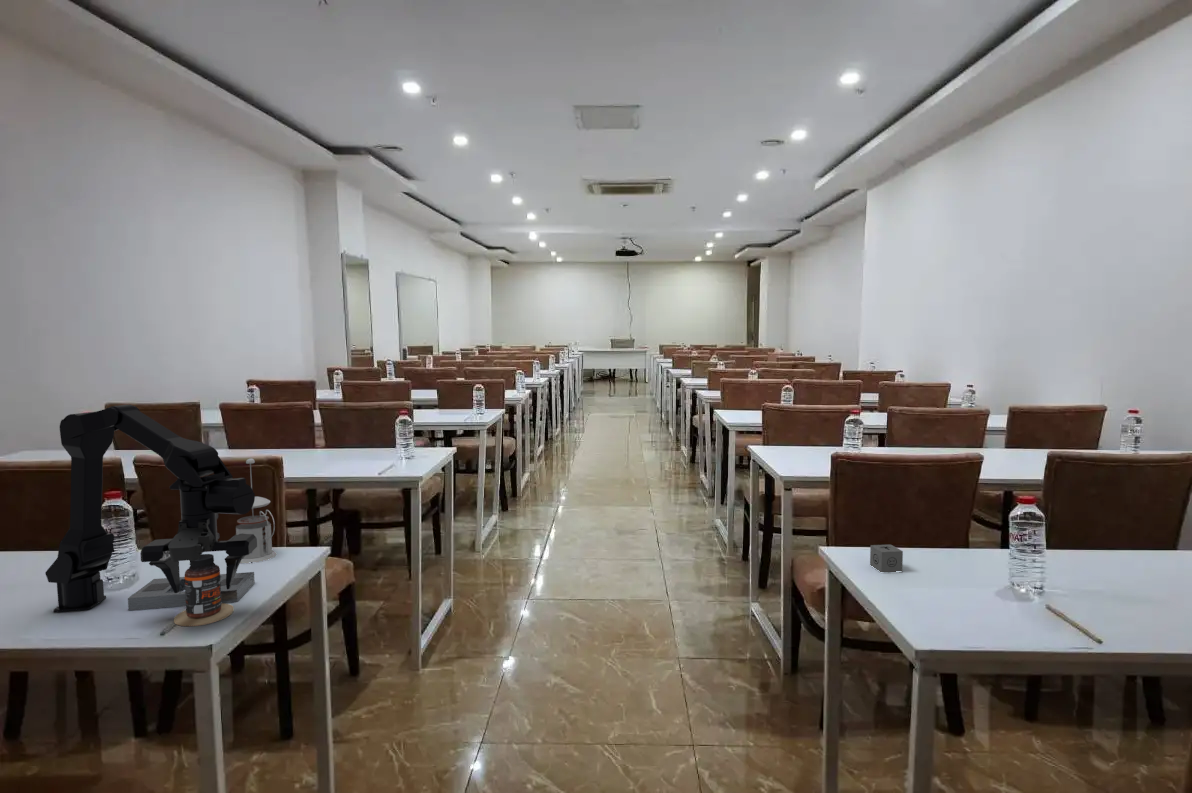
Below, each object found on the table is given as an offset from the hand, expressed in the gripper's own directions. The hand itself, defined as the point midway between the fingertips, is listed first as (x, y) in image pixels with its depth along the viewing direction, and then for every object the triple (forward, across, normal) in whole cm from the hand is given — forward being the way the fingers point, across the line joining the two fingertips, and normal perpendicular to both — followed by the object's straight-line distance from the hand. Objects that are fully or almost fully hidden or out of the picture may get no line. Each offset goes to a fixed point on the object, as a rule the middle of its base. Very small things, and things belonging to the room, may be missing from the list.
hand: (203, 590), depth 125 cm
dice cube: (+5, +146, -6) cm, 146 cm away
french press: (+5, -1, +36) cm, 36 cm away
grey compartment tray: (+5, -6, +12) cm, 14 cm away
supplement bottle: (+5, 0, 0) cm, 5 cm away
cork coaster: (+5, 0, 0) cm, 5 cm away
